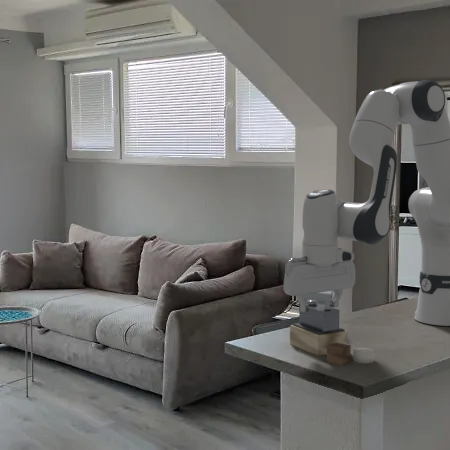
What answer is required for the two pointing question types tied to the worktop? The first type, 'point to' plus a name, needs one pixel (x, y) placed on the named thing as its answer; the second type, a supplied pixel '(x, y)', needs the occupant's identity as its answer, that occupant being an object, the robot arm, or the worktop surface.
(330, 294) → the ink box
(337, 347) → the walnut block
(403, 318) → the worktop surface
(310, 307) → the block
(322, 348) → the stand
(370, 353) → the white egg shape
